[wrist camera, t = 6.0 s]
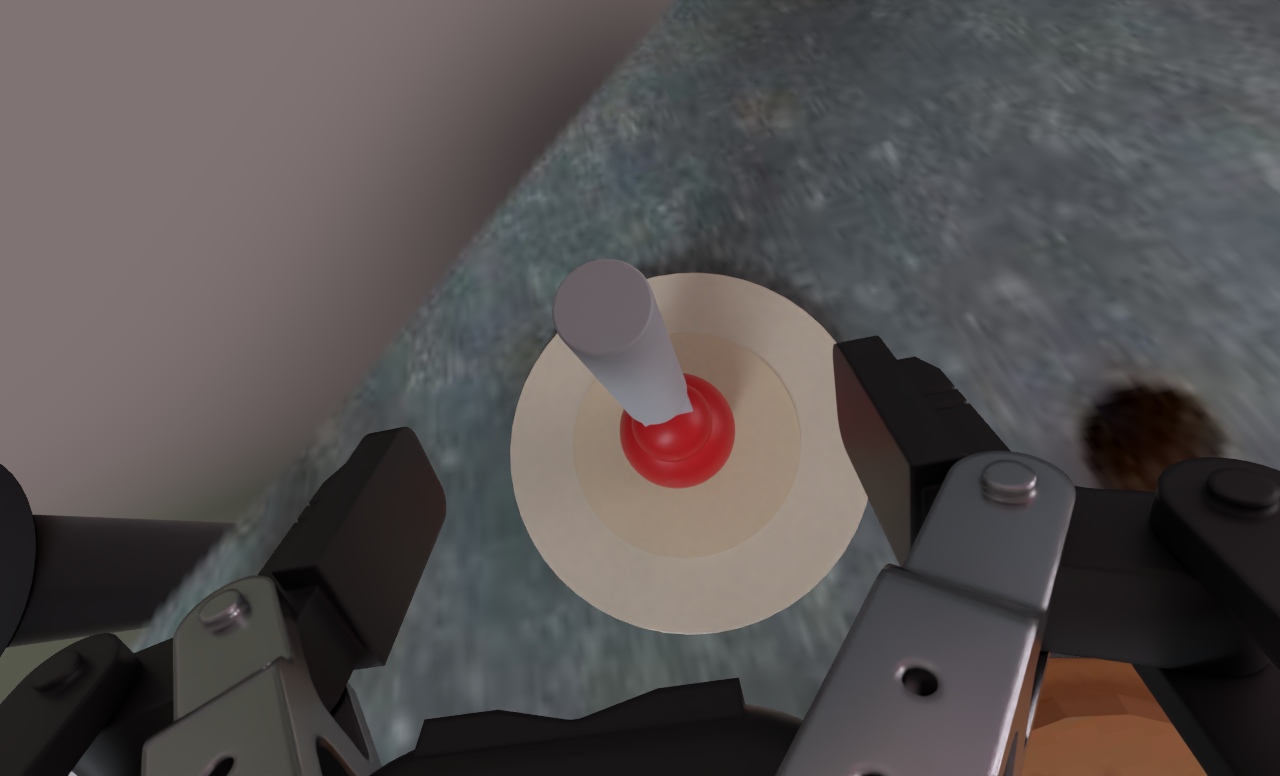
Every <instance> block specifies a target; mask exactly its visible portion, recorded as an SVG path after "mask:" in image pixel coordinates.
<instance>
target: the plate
mask: <svg viewBox="0 0 1280 776" xmlns="http://www.w3.org/2000/svg"><path fill="white" fill-rule="evenodd" d="M647 281H648V282H649V284H650V287H651V289H652V292H653V294H654V297H655V300H656V302H657V305H658V308H659V311H660V313H661V316H662V319H663V321H664V324H665V327H666V329H667V332H668V335H669V338H670V340H671V343H672V346H673V348H674V351H675V354H676V356H677V359H678V362H679V365H680V367H681V370H682V373H686V374H691V375H695V376H697V377H700V378H702V379H704V380H706V381H707V382H709V383H711V384H712V385H713V386H715V387H716V388H717V389H718V390H719V391H720V392H721V393H722V395H723V396H724V397H725V399H726V400H727V402H728V404H729V406H730V408H731V411H732V413H733V417H734V422H735V440H734V445H733V448H732V451H731V454H730V456H729V458H728V460H727V461H726V463H725V464H724V466H723V467H722V468H721V469H720V471H719V472H717V473H716V474H715V475H714V476H713V477H711V478H710V479H709V480H707V481H705V482H703V483H701V484H699V485H696V486H693V487H688V488H680V489H679V488H668V487H663V486H659V485H656V484H654V483H652V482H650V481H648V480H647V479H645V478H644V477H642V476H641V475H640V474H639V473H638V472H637V471H636V470H635V469H634V468H633V467H632V466H631V464H630V463H629V461H628V460H627V458H626V456H625V454H624V451H623V448H622V445H621V441H620V421H621V416H622V412H623V409H624V408H623V407H622V406H621V405H620V404H619V403H618V402H617V400H616V399H615V398H614V397H613V396H612V395H611V394H610V393H609V392H608V390H607V389H606V388H605V387H604V386H603V385H602V384H601V383H600V382H599V380H598V379H597V378H596V377H595V376H594V375H593V374H592V373H591V372H590V370H589V369H588V368H587V367H586V366H585V365H584V364H583V363H582V362H581V361H580V359H579V358H578V357H577V356H576V355H575V354H574V353H573V352H572V351H571V349H570V348H569V347H568V346H567V345H566V344H565V343H564V342H563V341H562V339H561V338H560V336H559V335H558V333H557V334H556V335H555V337H554V338H553V339H552V340H551V341H550V343H549V344H548V345H547V346H546V348H545V349H544V351H543V352H542V354H541V355H540V357H539V358H538V360H537V361H536V363H535V364H534V366H533V368H532V370H531V372H530V374H529V376H528V378H527V380H526V382H525V384H524V387H523V390H522V393H521V396H520V399H519V401H518V404H517V408H516V413H515V417H514V422H513V426H512V436H511V447H510V455H511V475H512V481H513V487H514V494H515V497H516V501H517V504H518V508H519V511H520V514H521V517H522V520H523V522H524V524H525V526H526V529H527V531H528V533H529V535H530V538H531V539H532V541H533V543H534V544H535V546H536V548H537V549H538V551H539V552H540V554H541V556H542V557H543V559H544V560H545V561H546V563H547V564H548V565H549V566H550V567H551V569H552V570H553V571H554V572H555V574H556V575H557V576H558V577H559V578H560V579H561V580H562V581H563V582H564V583H565V584H566V585H567V586H568V587H569V588H570V589H572V590H573V591H574V592H575V593H576V594H577V595H579V596H580V597H581V598H583V599H584V600H586V601H587V602H588V603H590V604H591V605H593V606H594V607H595V608H597V609H599V610H601V611H603V612H605V613H607V614H609V615H610V616H612V617H614V618H616V619H618V620H621V621H624V622H627V623H629V624H632V625H635V626H638V627H640V628H645V629H650V630H654V631H659V632H664V633H674V634H688V635H694V634H708V633H719V632H723V631H728V630H733V629H737V628H742V627H745V626H747V625H750V624H753V623H756V622H758V621H761V620H764V619H766V618H768V617H770V616H772V615H774V614H776V613H778V612H780V611H781V610H783V609H785V608H787V607H789V606H790V605H792V604H793V603H794V602H796V601H797V600H798V599H800V598H801V597H803V596H804V595H805V594H807V593H808V592H809V591H811V590H812V589H813V588H814V587H815V586H816V585H817V584H818V583H819V582H820V581H821V580H822V579H823V578H824V577H825V576H826V575H827V574H828V573H829V572H830V570H831V569H832V568H833V566H834V565H835V564H836V562H837V561H838V560H839V559H840V557H841V556H842V555H843V553H844V552H845V550H846V548H847V547H848V545H849V543H850V541H851V539H852V538H853V536H854V534H855V532H856V531H857V528H858V526H859V523H860V521H861V518H862V515H863V513H864V510H865V508H866V505H867V500H868V497H867V495H866V492H865V490H864V488H863V486H862V484H861V482H860V480H859V478H858V476H857V473H856V471H855V469H854V467H853V465H852V463H851V461H850V459H849V456H848V454H847V452H846V450H845V447H844V444H843V441H842V438H841V434H840V429H839V424H838V416H837V404H836V391H835V379H834V367H833V345H834V344H836V341H835V340H834V339H833V338H832V337H831V336H830V335H829V333H828V332H827V331H826V330H825V329H824V328H823V327H822V325H820V324H819V323H818V322H817V321H816V320H815V319H814V318H812V317H811V316H810V315H809V314H808V313H807V312H806V311H804V310H803V309H802V308H800V307H799V306H797V305H796V304H794V303H793V302H791V301H790V300H788V299H787V298H785V297H783V296H781V295H779V294H777V293H775V292H773V291H771V290H769V289H767V288H765V287H763V286H760V285H757V284H754V283H751V282H749V281H746V280H743V279H738V278H734V277H729V276H724V275H718V274H707V273H676V274H670V275H663V276H656V277H652V278H649V279H647Z"/></svg>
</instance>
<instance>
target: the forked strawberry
mask: <svg viewBox="0 0 1280 776" xmlns="http://www.w3.org/2000/svg"><path fill="white" fill-rule="evenodd" d="M552 315H553V322H554V326H555V329H556V331H557V333H558V335H559V336H560V338H561V339H562V341H563V342H564V343H565V344H566V345H567V346H568V347H569V348H570V349H571V351H572V352H573V353H574V354H575V355H576V356H577V357H578V358H579V359H580V361H581V362H582V363H583V364H584V365H585V366H586V367H587V368H588V369H589V370H590V372H591V373H592V374H593V375H594V376H595V377H596V378H597V379H598V380H599V382H600V383H601V384H602V385H603V386H604V387H605V388H606V389H607V390H608V392H609V393H610V394H611V395H612V396H613V397H614V398H615V399H616V400H617V402H618V403H619V404H620V405H621V406H622V407H623V408H624V409H623V412H622V416H621V421H620V441H621V445H622V448H623V451H624V454H625V456H626V458H627V460H628V461H629V463H630V464H631V466H632V467H633V468H634V469H635V470H636V471H637V472H638V473H639V474H640V475H641V476H642V477H644V478H645V479H647V480H648V481H650V482H652V483H654V484H656V485H659V486H663V487H668V488H679V489H680V488H688V487H693V486H696V485H699V484H701V483H703V482H705V481H707V480H709V479H710V478H711V477H713V476H714V475H715V474H716V473H717V472H719V471H720V469H721V468H722V467H723V466H724V464H725V463H726V461H727V460H728V458H729V456H730V454H731V451H732V448H733V445H734V440H735V422H734V417H733V413H732V411H731V408H730V406H729V404H728V402H727V400H726V399H725V397H724V396H723V395H722V393H721V392H720V391H719V390H718V389H717V388H716V387H715V386H713V385H712V384H711V383H709V382H707V381H706V380H704V379H702V378H700V377H697V376H695V375H691V374H686V373H682V370H681V367H680V365H679V362H678V359H677V356H676V354H675V351H674V348H673V346H672V343H671V340H670V338H669V335H668V332H667V329H666V327H665V324H664V321H663V319H662V316H661V313H660V311H659V308H658V305H657V302H656V300H655V297H654V294H653V292H652V289H651V287H650V284H649V282H648V281H647V279H646V278H645V277H644V275H643V274H642V273H641V272H640V271H639V270H638V269H636V268H635V267H633V266H632V265H630V264H628V263H625V262H622V261H619V260H613V259H600V260H594V261H591V262H588V263H585V264H583V265H581V266H579V267H578V268H576V269H575V270H573V271H572V272H571V273H570V274H569V275H568V276H567V277H566V278H565V279H564V280H563V282H562V283H561V285H560V286H559V288H558V290H557V292H556V295H555V298H554V302H553V309H552Z"/></svg>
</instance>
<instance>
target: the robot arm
mask: <svg viewBox="0 0 1280 776" xmlns="http://www.w3.org/2000/svg"><path fill="white" fill-rule="evenodd" d="M833 367H834V379H835V391H836V404H837V416H838V424H839V429H840V434H841V438H842V441H843V444H844V447H845V450H846V452H847V454H848V456H849V459H850V461H851V463H852V465H853V467H854V469H855V471H856V473H857V476H858V478H859V480H860V482H861V484H862V486H863V488H864V490H865V492H866V495H867V497H868V499H869V501H870V503H871V505H872V507H873V509H874V511H875V514H876V516H877V518H878V520H879V522H880V524H881V526H882V528H883V531H884V533H885V535H886V537H887V539H888V541H889V543H890V545H891V547H892V550H893V552H894V554H895V556H896V558H897V560H898V562H899V564H900V566H901V567H899V566H896V565H893V564H888V565H886V566H885V567H884V568H883V569H882V570H881V572H880V573H879V575H878V576H877V578H876V580H875V582H874V584H873V586H872V588H871V590H870V592H869V594H868V596H867V598H866V600H865V601H864V603H863V605H862V607H861V609H860V611H859V613H858V615H857V617H856V619H855V621H854V623H853V625H852V627H851V629H850V631H849V633H848V635H847V637H846V638H845V640H844V642H843V644H842V646H841V648H840V650H839V652H838V654H837V656H836V658H835V660H834V662H833V664H832V666H831V668H830V670H829V672H828V674H827V675H826V677H825V679H824V681H823V683H822V685H821V687H820V689H819V691H818V693H817V695H816V697H815V699H814V701H813V703H812V705H811V707H810V709H809V711H808V712H807V714H806V716H805V718H804V720H801V719H798V718H796V717H793V716H791V715H788V714H786V713H783V712H779V711H776V710H772V709H768V708H764V707H760V706H753V705H746V704H745V702H744V698H743V694H742V689H741V685H740V681H739V678H732V679H725V680H717V681H710V682H702V683H695V684H687V685H680V686H672V687H665V688H658V689H655V690H653V691H650V692H647V693H645V694H642V695H640V696H637V697H634V698H632V699H629V700H627V701H624V702H622V703H619V704H616V705H614V706H611V707H609V708H606V709H604V710H601V711H598V712H596V713H593V714H591V715H588V716H586V717H583V718H580V719H574V720H565V719H559V718H552V717H545V716H538V715H531V714H524V713H517V712H510V711H503V710H493V711H485V712H478V713H470V714H463V715H455V716H448V717H440V718H433V719H425V720H424V723H423V726H422V729H421V732H420V736H419V739H418V742H417V745H416V748H415V750H413V751H410V752H408V753H407V754H405V755H403V756H401V757H399V758H397V759H395V760H393V761H391V762H389V763H388V764H386V765H385V766H383V767H382V766H381V763H380V760H379V757H378V754H377V751H376V749H375V746H374V743H373V740H372V737H371V734H370V732H369V729H368V726H367V723H366V720H365V717H364V714H363V712H362V709H361V706H360V703H359V700H358V697H357V695H356V693H355V691H354V690H353V688H352V687H351V686H350V684H349V683H348V680H349V678H350V676H351V674H352V672H353V670H356V669H363V668H370V667H377V666H384V665H385V663H386V661H387V658H388V656H389V653H390V651H391V649H392V646H393V644H394V641H395V639H396V636H397V634H398V632H399V629H400V627H401V624H402V622H403V619H404V617H405V615H406V612H407V610H408V607H409V605H410V602H411V600H412V598H413V595H414V593H415V590H416V588H417V585H418V583H419V581H420V578H421V576H422V573H423V571H424V568H425V566H426V564H427V561H428V559H429V556H430V554H431V551H432V549H433V546H434V544H435V542H436V539H437V537H438V534H439V532H440V529H441V527H442V525H443V522H444V519H445V515H446V500H445V495H444V491H443V488H442V486H441V484H440V482H439V480H438V478H437V476H436V474H435V472H434V470H433V468H432V466H431V464H430V462H429V460H428V458H427V456H426V454H425V452H424V450H423V448H422V446H421V444H420V442H419V440H418V438H417V436H416V434H415V433H414V432H413V431H412V430H411V429H410V428H408V427H400V428H395V429H390V430H385V431H380V432H375V433H370V434H367V435H366V436H365V437H364V438H363V439H362V440H361V442H360V443H359V445H358V446H357V448H356V449H355V451H354V452H353V453H352V455H351V456H350V458H349V459H348V461H347V462H346V464H344V465H343V466H342V467H341V468H340V469H339V470H338V471H336V472H335V473H334V474H333V475H332V476H331V477H329V478H328V479H327V480H326V481H325V482H324V483H323V484H322V485H321V487H320V488H319V490H318V491H317V492H316V494H315V495H314V497H313V498H312V499H311V501H310V502H309V503H310V506H306V508H305V509H304V511H303V512H302V513H301V515H300V516H299V518H298V522H297V523H294V525H293V526H292V527H291V529H290V530H289V532H288V533H287V534H286V536H285V537H284V539H283V540H282V541H281V543H280V544H279V546H278V547H277V549H276V550H275V551H274V553H273V554H272V556H271V557H270V558H269V560H268V561H267V563H266V564H265V565H264V567H263V568H262V570H261V571H260V572H259V574H258V575H257V576H249V577H245V578H242V579H239V580H236V581H234V582H231V583H229V584H227V585H225V586H223V587H221V588H220V589H218V590H216V591H215V592H213V593H212V594H210V595H209V596H207V597H206V598H205V599H203V600H202V601H201V602H200V603H198V604H197V605H196V606H195V607H194V608H193V609H192V610H191V611H190V612H189V613H188V614H187V615H186V616H185V618H184V619H183V620H182V622H181V623H180V624H179V626H178V628H177V629H176V632H175V634H174V637H173V638H171V639H169V640H166V641H164V642H161V643H159V644H156V645H154V646H151V647H149V648H146V649H144V650H141V651H139V652H136V653H133V652H132V651H131V650H130V649H129V648H128V647H127V646H126V645H125V644H124V643H123V642H122V641H121V640H120V639H119V638H118V637H117V636H116V635H114V634H111V633H103V634H97V635H93V636H90V637H87V638H85V639H82V640H80V641H77V642H75V643H73V644H71V645H69V646H68V647H66V648H64V649H62V650H61V651H59V652H57V653H56V654H54V655H53V656H51V657H50V658H49V659H47V660H46V661H44V662H43V663H42V664H40V665H39V666H38V667H37V668H35V669H34V670H33V671H32V672H31V673H30V674H29V675H27V676H26V677H25V678H24V679H23V680H22V681H21V682H20V683H19V684H18V685H17V686H16V688H15V689H14V690H13V691H12V692H11V693H10V694H9V695H8V696H7V698H6V699H5V700H4V701H3V702H2V703H1V704H0V776H68V775H69V774H70V773H71V771H72V772H73V773H74V774H76V775H77V776H1021V775H1022V770H1023V766H1024V761H1025V757H1026V753H1027V749H1028V745H1029V741H1030V736H1031V732H1032V728H1033V724H1034V720H1035V716H1036V712H1037V707H1038V703H1039V699H1040V695H1041V691H1042V687H1043V683H1044V678H1045V674H1046V670H1047V666H1048V662H1049V658H1050V654H1051V652H1053V653H1060V654H1067V655H1074V656H1081V657H1088V658H1096V659H1103V660H1110V661H1117V662H1124V663H1131V664H1132V666H1133V667H1134V669H1135V670H1136V672H1137V673H1138V675H1139V676H1140V677H1141V679H1142V680H1143V682H1144V683H1145V685H1146V686H1147V688H1148V689H1149V691H1150V692H1151V694H1152V695H1153V696H1154V698H1155V699H1156V701H1157V702H1158V704H1159V705H1160V707H1161V708H1162V710H1163V711H1164V713H1165V714H1166V715H1167V717H1168V718H1169V720H1170V721H1171V723H1172V724H1173V726H1174V727H1175V729H1176V730H1177V732H1178V733H1179V735H1180V736H1181V737H1182V739H1183V740H1184V742H1185V743H1186V745H1187V746H1188V748H1189V749H1190V751H1191V752H1192V754H1193V755H1194V756H1195V758H1196V759H1197V761H1198V762H1199V764H1200V765H1201V767H1202V768H1203V770H1204V771H1205V773H1206V774H1207V775H1208V776H1280V471H1278V470H1276V469H1273V468H1270V467H1267V466H1264V465H1260V464H1256V463H1252V462H1248V461H1242V460H1237V459H1229V458H1211V457H1206V458H1194V459H1188V460H1183V461H1180V462H1177V463H1175V464H1173V465H1171V466H1169V467H1167V468H1166V469H1165V470H1164V471H1163V472H1162V473H1161V475H1160V476H1159V479H1158V483H1157V488H1156V492H1147V491H1127V490H1107V489H1093V488H1084V487H1078V486H1074V485H1073V483H1072V481H1071V480H1070V479H1069V477H1068V476H1067V475H1066V474H1065V473H1064V472H1063V471H1061V470H1060V469H1059V468H1057V467H1056V466H1054V465H1053V464H1051V463H1049V462H1047V461H1045V460H1042V459H1040V458H1037V457H1034V456H1031V455H1027V454H1023V453H1018V452H1011V451H1010V450H1009V449H1008V447H1007V446H1006V445H1005V444H1004V443H1003V442H1002V440H1001V439H1000V438H999V437H998V436H997V435H996V434H995V432H994V431H993V430H992V429H991V428H990V427H989V425H988V424H987V423H986V422H985V421H984V420H983V418H982V417H981V416H980V415H979V414H978V413H977V411H976V410H975V409H974V408H973V407H972V406H971V405H970V403H969V404H967V401H966V399H965V398H964V396H963V395H962V394H961V393H960V392H959V391H958V389H955V388H954V385H953V384H952V383H951V381H950V380H949V379H948V378H947V377H946V376H945V374H944V373H943V372H942V371H941V370H940V369H939V368H937V367H935V366H933V365H931V364H929V363H927V362H925V361H923V360H920V359H918V358H916V357H910V358H905V359H900V360H897V359H896V358H895V357H894V355H893V354H892V353H891V352H890V350H889V349H888V348H887V346H886V345H885V344H884V342H883V341H882V340H881V338H880V337H879V336H872V337H866V338H861V339H856V340H851V341H846V342H841V343H836V344H834V345H833Z"/></svg>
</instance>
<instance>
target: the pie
mask: <svg viewBox="0 0 1280 776" xmlns="http://www.w3.org/2000/svg"><path fill="white" fill-rule="evenodd" d="M1021 776H1208V775H1207V774H1206V773H1205V771H1204V770H1203V768H1202V767H1201V765H1200V764H1199V762H1198V761H1197V759H1196V758H1195V756H1194V755H1193V754H1192V752H1191V751H1190V749H1189V748H1188V746H1187V745H1186V743H1185V742H1184V740H1183V739H1182V737H1181V736H1180V735H1179V733H1178V732H1177V730H1176V729H1175V727H1174V726H1173V724H1172V723H1171V721H1170V720H1169V718H1168V717H1167V715H1166V714H1165V713H1164V711H1163V710H1162V708H1161V707H1160V705H1159V704H1158V702H1157V701H1156V699H1155V698H1154V696H1153V695H1152V694H1151V692H1150V691H1149V689H1148V688H1147V686H1146V685H1145V683H1144V682H1143V680H1142V679H1141V677H1140V676H1139V675H1138V673H1137V672H1136V670H1135V669H1134V667H1133V666H1132V664H1131V663H1124V662H1117V661H1110V660H1103V659H1096V658H1049V662H1048V666H1047V670H1046V674H1045V678H1044V683H1043V687H1042V691H1041V695H1040V699H1039V703H1038V707H1037V712H1036V716H1035V720H1034V724H1033V728H1032V732H1031V736H1030V741H1029V745H1028V749H1027V753H1026V757H1025V761H1024V766H1023V770H1022V775H1021Z"/></svg>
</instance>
